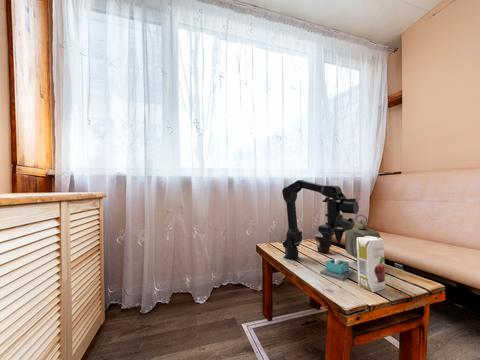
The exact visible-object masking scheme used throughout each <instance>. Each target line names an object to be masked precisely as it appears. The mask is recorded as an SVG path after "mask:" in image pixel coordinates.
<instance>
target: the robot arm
mask: <svg viewBox="0 0 480 360" xmlns="http://www.w3.org/2000/svg"><path fill="white" fill-rule="evenodd" d="M303 189H305V190H309V191H312V192H315V193H316V192H318V193H319V194H321V195H323V196H325V198H324V199H323V200H322V202H323V203H326V210H327V211H326V213H325V217H327V218H326V220H327V222H325V224H320V225H319V226H317V231H318V232H319V234H322V236H323V238H324V240H325V241H326V243H327V245H328V247H330V248H331V247H332V239H333V236H335V240H336V243H337V244H341V242H342V239H343V236H344V234H345V233H346V231H347V230H352V229H354V227H356V225H355V220H354V218H352V217H350V218H344V216H343V214H350V215H358V214H359V210H360V209H359V208H360V205H359V202H358V201H357V198H347V197H346V196H345V194H344V193H343V190H342V188H341V187H340V186H339V185H324V184H320V183H316V182H311V181H305V180H304V179H297V180H296V181H294V182H292V183H291V184H288V186H285V187H283V189H282V190H281V193H282V198H283V200H284V201H285V204H286V214H287V225H288V229H287V232H286V236H285V237H286V238H285V240H284V241H283V242H282V243H281V244H282V246H283V248H284V253H285V254H284V255H283V259H288V260H291V261H295V260H297V259H299V258H300V256H299V250H298V249H299V248H298V247H299V246H300V244H302V240H303V239H304V238H303V232H302V231H301V230H299V227H298V220H297V219H298V218H297V208H296V207H297V206H296V201H297V199H298V194H299V193H300V192H301V191H302V190H303Z"/></svg>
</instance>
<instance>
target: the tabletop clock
mask: <svg viewBox="0 0 480 360" xmlns="http://www.w3.org/2000/svg"><path fill="white" fill-rule="evenodd" d="M359 217H363V218H364V219H365V221H363V220H360V221H359V220H358V219H357V218H359ZM355 220H356V222H358V224H356V225H355V227H353V228H352V230H346V231H345V232H344V234H345V235H344V242H345V243H344V245H345V251H346V253H347V254H348V255H349V256H351V257H354V258H356V259H357V237H365V236H372V237H377V238H381V234H380V233H379V232H378V231H377V230H373V229H371V228H368V226H367V225H366V224H367V222H368V218H367V217H366V216H365V215H363V214H356V216H355Z"/></svg>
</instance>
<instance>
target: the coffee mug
mask: <svg viewBox="0 0 480 360" xmlns="http://www.w3.org/2000/svg"><path fill="white" fill-rule="evenodd" d="M314 238H315V239H314V240H315V241H316V248H317V253H319V254H321V255H328V254H330V250H331V247H328V245H327V243H326V241H325V240H324V238H323V236H322V234H321V233H317V234H315V236H314Z"/></svg>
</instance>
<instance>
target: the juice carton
mask: <svg viewBox="0 0 480 360" xmlns="http://www.w3.org/2000/svg"><path fill="white" fill-rule="evenodd" d="M356 262H357V264H356V265H357V284H358V287H360V288H363V289H366V291H367V290H368V291H370V292H372V293H376V292H378V291H382V290H384V289H385V288H386V271H385V270H386V267H385V246H384V238H377V237H372V236H365V237H357V258H356Z"/></svg>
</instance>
